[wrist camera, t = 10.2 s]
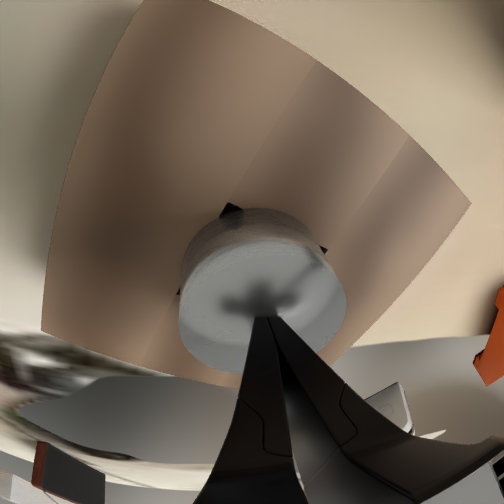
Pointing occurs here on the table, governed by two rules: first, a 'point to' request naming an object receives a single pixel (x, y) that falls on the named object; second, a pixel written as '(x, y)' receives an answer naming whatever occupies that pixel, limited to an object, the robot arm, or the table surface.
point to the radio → (66, 477)
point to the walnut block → (229, 182)
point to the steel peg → (254, 285)
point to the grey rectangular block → (24, 491)
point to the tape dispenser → (493, 348)
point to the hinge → (388, 409)
